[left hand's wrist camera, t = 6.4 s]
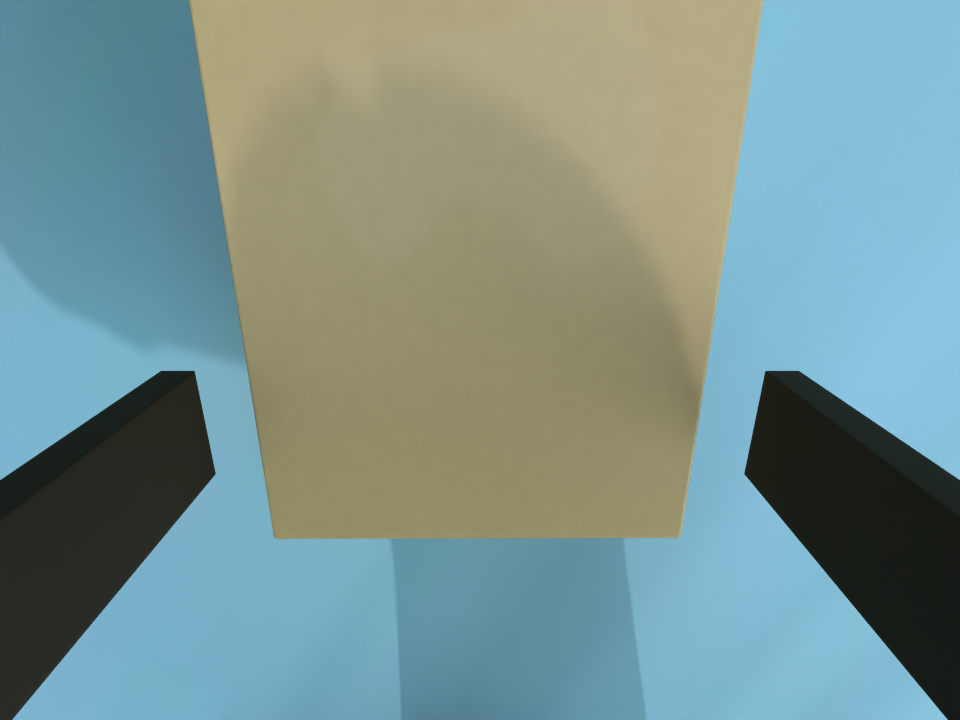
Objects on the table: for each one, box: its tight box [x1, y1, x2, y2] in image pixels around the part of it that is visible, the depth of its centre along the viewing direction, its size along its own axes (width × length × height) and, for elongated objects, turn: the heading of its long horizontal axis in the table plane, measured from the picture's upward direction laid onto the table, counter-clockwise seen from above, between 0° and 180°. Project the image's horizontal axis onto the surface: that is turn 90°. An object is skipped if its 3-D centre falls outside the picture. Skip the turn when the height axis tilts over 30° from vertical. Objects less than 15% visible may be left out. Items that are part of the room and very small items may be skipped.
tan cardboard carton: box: [189, 0, 763, 539], centre depth 16 cm, size 20×11×10 cm, turn 0°
